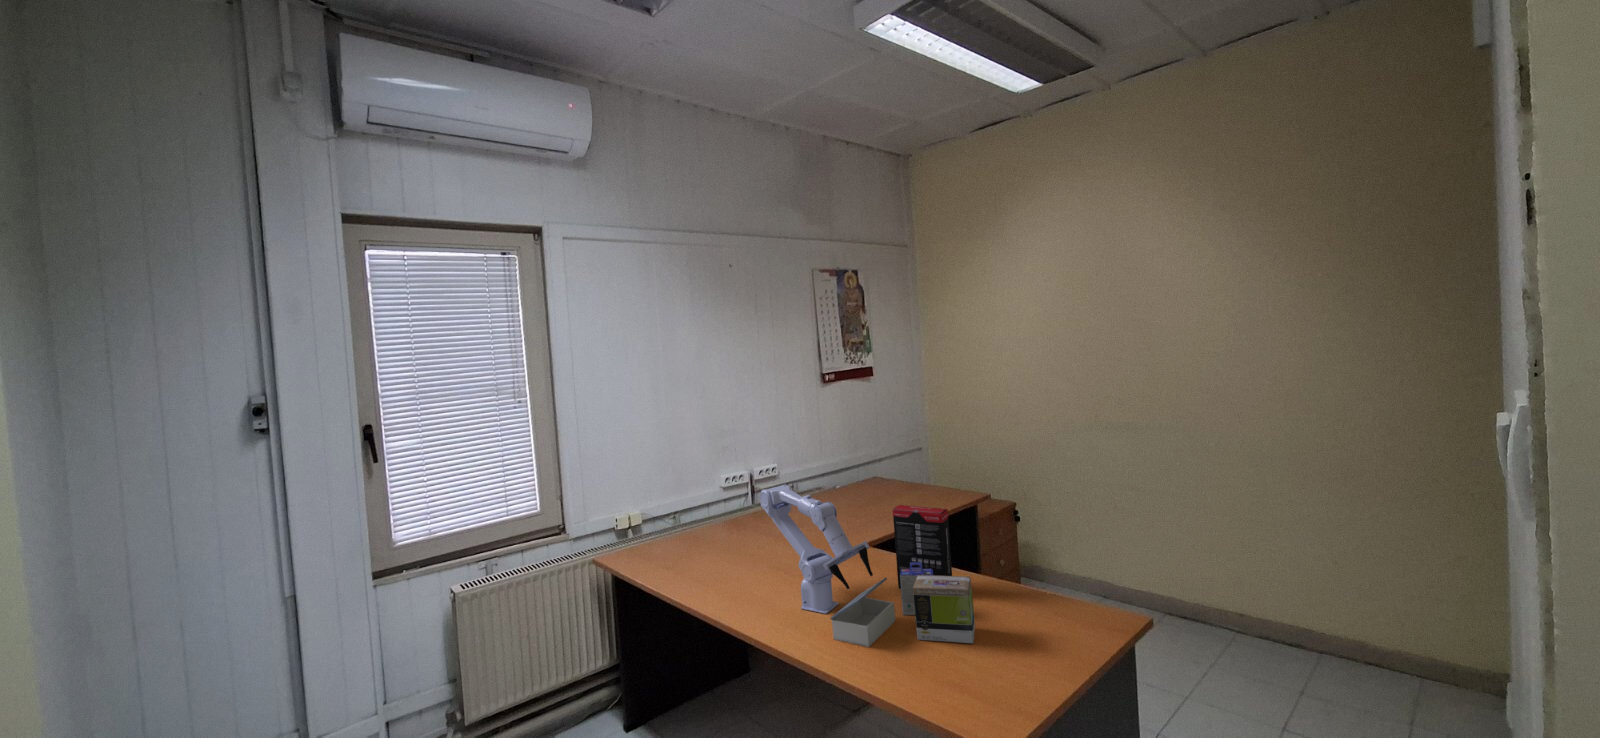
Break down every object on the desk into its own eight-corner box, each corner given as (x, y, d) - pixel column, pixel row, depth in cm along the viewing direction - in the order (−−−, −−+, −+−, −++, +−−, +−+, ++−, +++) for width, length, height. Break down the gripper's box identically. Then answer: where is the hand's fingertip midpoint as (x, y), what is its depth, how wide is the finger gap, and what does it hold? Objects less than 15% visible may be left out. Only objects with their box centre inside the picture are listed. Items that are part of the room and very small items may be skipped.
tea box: (975, 627, 168) (971, 575, 167) (973, 645, 158) (969, 589, 158) (921, 623, 173) (917, 573, 172) (916, 640, 163) (912, 587, 163)
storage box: (833, 639, 168) (831, 619, 167) (862, 614, 182) (860, 596, 181) (868, 647, 161) (866, 627, 161) (895, 620, 176) (893, 602, 175)
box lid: (831, 620, 167) (829, 617, 168) (860, 596, 182) (859, 593, 182) (859, 602, 162) (857, 599, 162) (887, 579, 176) (885, 576, 177)
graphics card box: (955, 590, 193) (948, 506, 192) (948, 598, 187) (941, 512, 187) (905, 583, 202) (899, 503, 202) (897, 591, 197) (890, 508, 196)
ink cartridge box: (936, 607, 182) (932, 560, 182) (936, 615, 177) (932, 567, 176) (903, 607, 184) (899, 560, 184) (902, 615, 179) (898, 567, 178)
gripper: (815, 548, 176) (837, 591, 169) (858, 525, 178) (882, 566, 171) (817, 553, 182) (838, 595, 175) (858, 531, 184) (881, 571, 177)
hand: (860, 581), depth 174 cm, fingers open, 7 cm apart
